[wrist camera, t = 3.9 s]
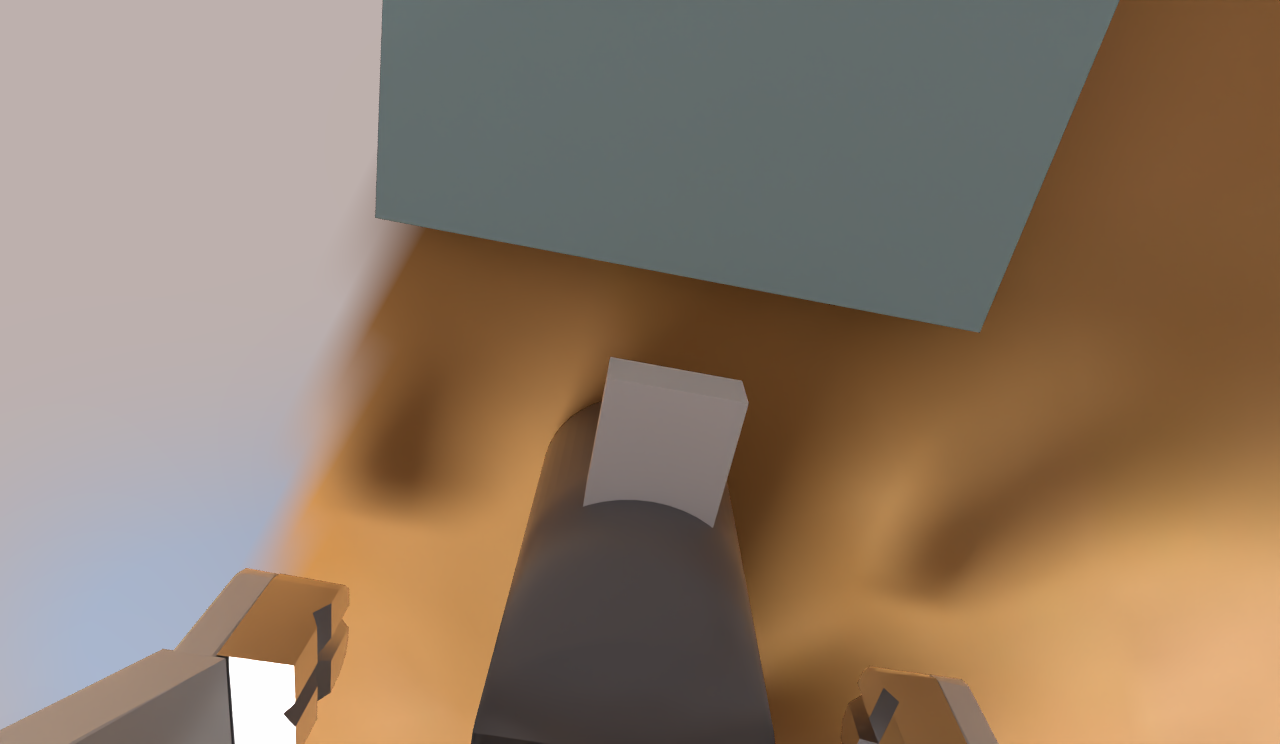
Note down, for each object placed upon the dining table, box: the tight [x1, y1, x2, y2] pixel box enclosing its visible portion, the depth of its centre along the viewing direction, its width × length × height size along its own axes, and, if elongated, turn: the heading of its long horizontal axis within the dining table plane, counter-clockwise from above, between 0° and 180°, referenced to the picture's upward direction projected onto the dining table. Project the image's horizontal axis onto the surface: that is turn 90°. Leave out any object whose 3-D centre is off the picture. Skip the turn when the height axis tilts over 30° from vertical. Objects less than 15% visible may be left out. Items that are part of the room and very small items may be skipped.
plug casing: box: [471, 357, 775, 744], centre depth 10 cm, size 3×9×5 cm, turn 169°
